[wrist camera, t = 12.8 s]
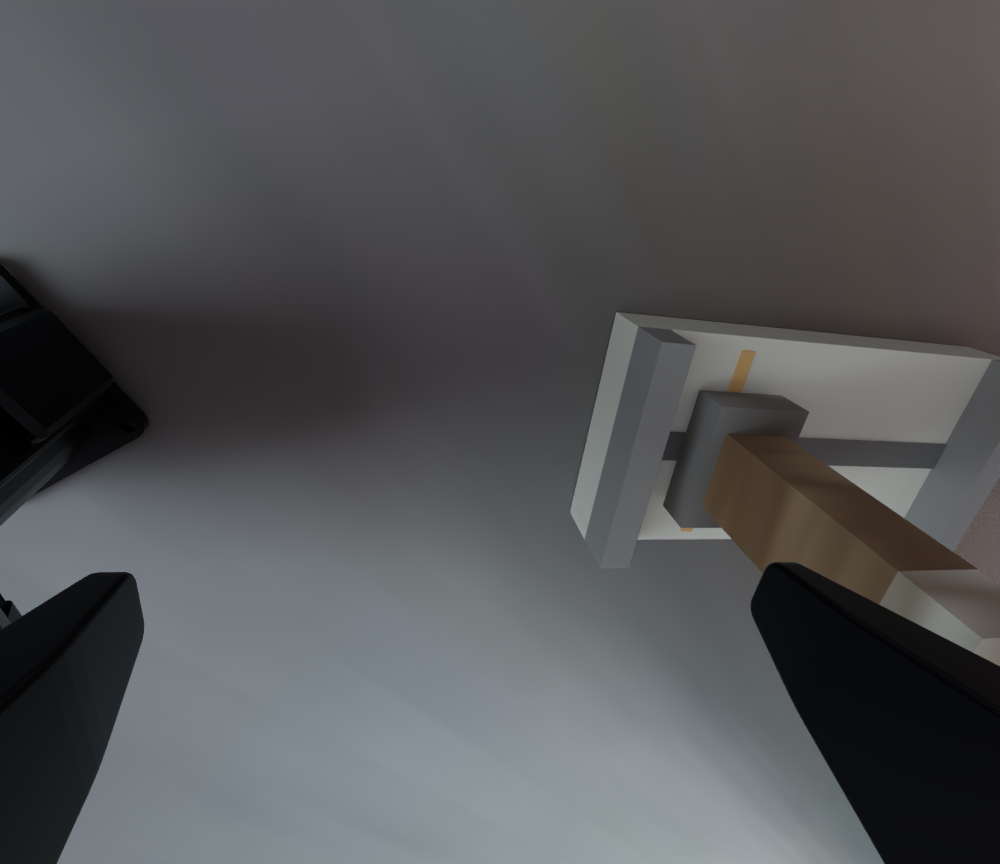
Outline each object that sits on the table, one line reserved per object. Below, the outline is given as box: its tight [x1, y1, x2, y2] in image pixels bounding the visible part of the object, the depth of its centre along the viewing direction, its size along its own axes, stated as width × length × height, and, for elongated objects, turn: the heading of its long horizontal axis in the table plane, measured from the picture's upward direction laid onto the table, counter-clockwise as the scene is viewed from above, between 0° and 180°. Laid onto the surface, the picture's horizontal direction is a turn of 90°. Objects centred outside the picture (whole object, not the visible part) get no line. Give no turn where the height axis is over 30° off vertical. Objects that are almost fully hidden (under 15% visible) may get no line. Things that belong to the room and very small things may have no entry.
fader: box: [663, 390, 1000, 666], centre depth 16 cm, size 4×5×11 cm
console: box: [570, 312, 1000, 569], centre depth 22 cm, size 17×9×4 cm, turn 82°
